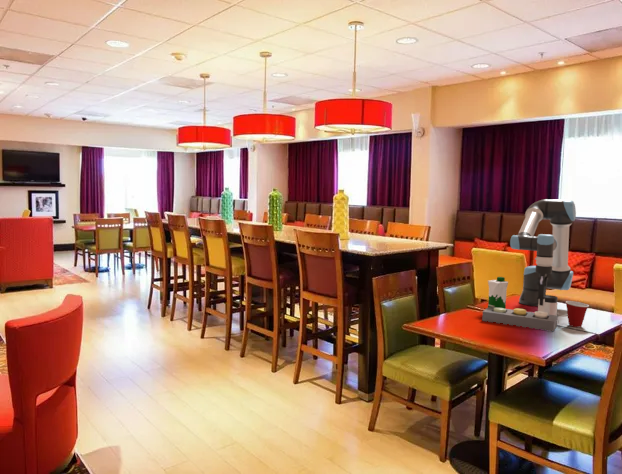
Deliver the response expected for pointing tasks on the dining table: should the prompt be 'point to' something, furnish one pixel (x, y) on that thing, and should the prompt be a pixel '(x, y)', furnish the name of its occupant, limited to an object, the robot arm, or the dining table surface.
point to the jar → (551, 305)
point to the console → (520, 319)
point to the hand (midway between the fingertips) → (541, 311)
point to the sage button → (500, 310)
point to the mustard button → (520, 311)
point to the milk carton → (497, 293)
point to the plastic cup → (576, 313)
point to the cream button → (540, 314)
